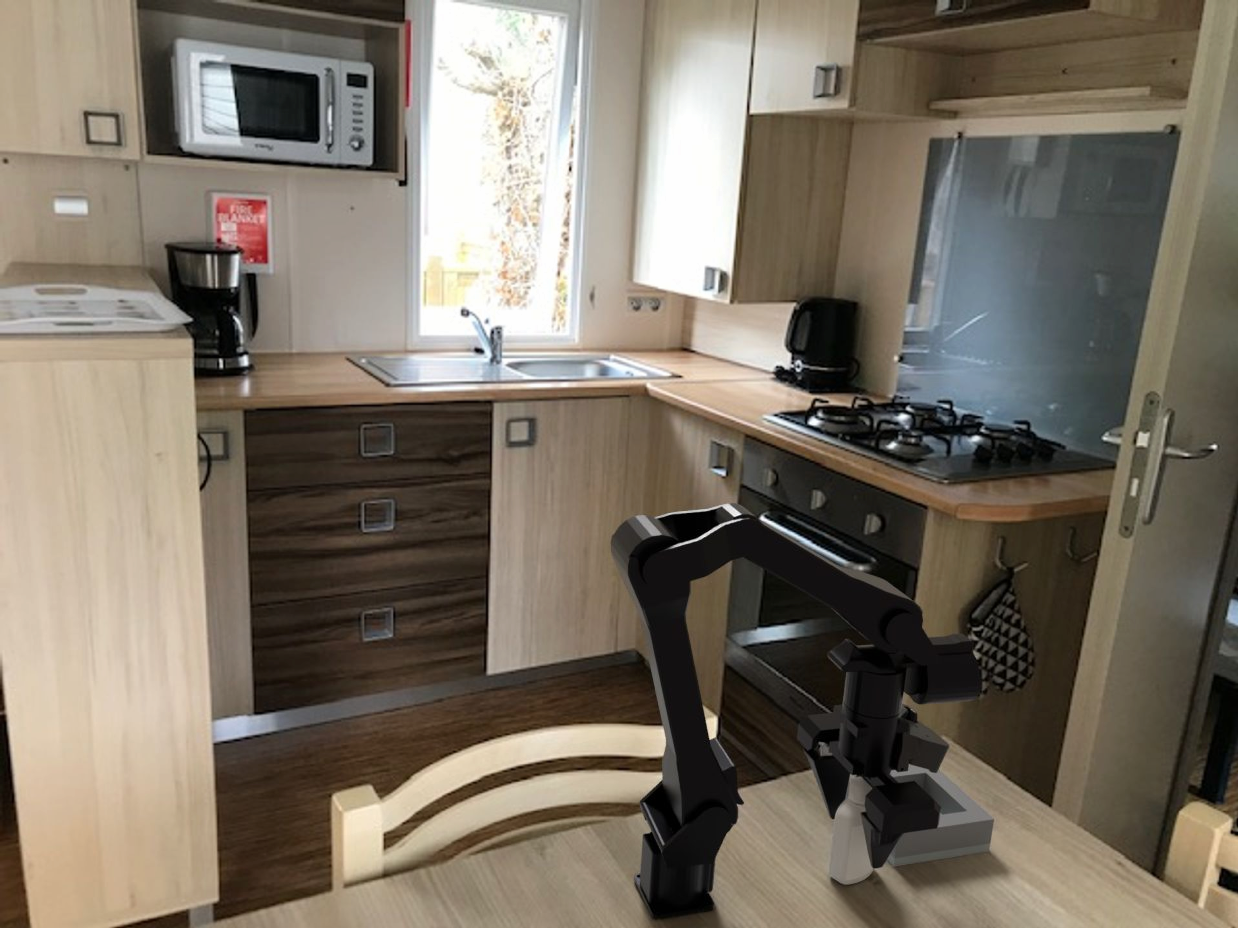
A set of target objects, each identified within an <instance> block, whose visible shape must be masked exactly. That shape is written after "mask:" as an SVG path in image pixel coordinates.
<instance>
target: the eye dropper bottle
mask: <svg viewBox="0 0 1238 928" xmlns="http://www.w3.org/2000/svg"><path fill="white" fill-rule="evenodd" d="M871 790H872V788H871V787H870V786H869V785H868V783H867V782H866V781H865V780H864V779H863V778H862V777H855V776H853V777H852V778H851V779H850V787H849V795H848V798H846V799H845V800H844V801H843V802H842V803H841V804H840V806H839V807H838V809H837V811H836V814H835V819H833V821H834V822H833V829H832V835H831V845H830V851H829V852H830V853H829V861H828V862H829V863H828V868H827V869H828V870H827V871H828V875H829V876H830V878H832V879H833V880H835V881H836V882H837V883H840V884H841V885H852V884H857V883H859V882H863V881H864V880H865V879H867V878H868V877H870V875H872V873H873V871H874V870H875V869H874V868H872V866H871V863H870V859H869V855H868V850H867V845H866V840H865V834H864V829H863V824H862V819H861V812H866V809H865V806H864V804H865V796H866V795H867V794H868V793H869V792H870V791H871Z"/></svg>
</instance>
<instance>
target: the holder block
mask: <svg viewBox="0 0 1238 928" xmlns="http://www.w3.org/2000/svg"><path fill="white" fill-rule="evenodd" d="M890 775H891V776H892V777H893V778H894V779H895V780H896V781H897V782H898V783H902V782H910V781H915V782H916V783H917V784H918V785H919V786H920V787H921V788H922V789H923V790H925V791H926V792H927V793H928V794H929V795H930V796H931V797H932V798H933V799H934V800H935V801H936V802H937V803H938V804H939V805H940V806H941V813H940V819H939V825H938V827H937V828H936V829H929V830H922V831H916V832H909V833H904V834H903V835H902V836H901V838H900V839H899V841H898V842H897V844H896V845H895V847H894V849H893V850H892V852H891V854H890V855H889V857H888V859H887V860H886V861H887V862H889V863H890V865H891V866H892V867H898V866H905V865H912V864H919V863H924V862H930V861H938V860H943V859H944V860H945V859H951V858H956V857H962V856H969V855H974V854H981V853H988V852H990V849H991V841H992V835H993V830H994V825H995V824H994V822H995V818H993V817H992V815H991V814H989V813H988V812H987V811H986V810H985V809H984V808H983V807H981V805H979V803H977V802H976V801H975V800H974V799H973V798H971V797H970V795H969V794H967V793H966V792H965V791H964V790H963V789H961V787H960V786H958V785H957V784H956V783H955V781H954V782H953V780H951V778H949V777H948V776H947V775H946V774H945V773H944V772H943V771H941V769H939V770H938V772H937V773H933V772H930V771H929V769H925V768H921V767H917V766H913V765H910V764H909V767H908V771H905V772H897V771H896V770H891V773H890ZM853 776H854V775H851V774H850V778H849V783H848V788H847V793H846V797H845V799H846V798H848V795H849V787H850V779H851V778H852V777H853Z"/></svg>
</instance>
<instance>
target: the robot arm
mask: <svg viewBox="0 0 1238 928" xmlns="http://www.w3.org/2000/svg"><path fill="white" fill-rule="evenodd" d="M610 553H611V556H612V559H613V561H614V564H615V566H616V568H617V570H618V572H619V575H620V577H621V579H622V581H623V584H624V586H625V588H626V591H627V593H628V594H629V595H628V596H630V599H631V601H632V603H633V605H634V607H635V609H636V612H637V614H638V616H639V619H640V620H639V621H640V624H641V629H642V635H643V638H644V642H645V648H646V653H647V656H648V662H649V666H650V671H651V675H652V681H653V685H654V686H653V687H654V690H655V691H654V692H655V695H656V700H657V703H658V704H657V705H658V708H659V713H660V718H661V724H662V728H663V733H664V736H665V746H664V751H663V755H662V759H661V760H662V761H661V765H662V766H661V767H662V768H661V770H662V771H661V773H662V774H661V776H662V780H660V781H659V782H658V783H657V784H656V785H655V786H654V787H653V788H652V789H651V790H649V791H648V793H646V794H645V795H644V796H643V797H642V798H641V799H640V800H639V802H638V803H639V806H640V810H641V813H642V816H643V819H644V820H645V821H646V823H647V824H648V827H649V830H650V832H647V833H643V834H642V843H641V844H642V845H641V859H640V872H636V873H634V875H633V880H634V882H635V885H636V886H637V889H638V891H639V893H640V895H641V897H642V899H643V901H644V903H645V906H646V907H647V910H648V912H649V914H650V915H651V917H652V918H653V919H655V920H656V919H657V920H658V919H664V918H665V919H666V918H671V917H677V916H678V917H679V916H682V915H684V916H685V915H688V914H695V913H702V912H707V911H712V910H715V907H716V906H715V901H714V899H713V897H712V896H711V895H710V893H711V892H713V890H714V882H715V881H714V880H715V870H716V857H717V855H718V853H719V851H720V849H721V847H722V844H723V842H724V840H725V839H726V836H727V834H728V833H729V832H730V831H731V830H732V828H733V827H734V826H735V825H736V824H737V823H738V821H739V805H741V806H743V805H744V804H745V802H744V800H743V798H742V797H741V795H740V793H739V790H738V789H739V788H738V770H737V767H736V765H735V763H734V762H733V761H732V759H731V758H730V756H729V755H728V753H727V751H726V749H725V748H724V747H723V746H722V744H721V742H720V741H719V740H718V738H717V737H716V736H715V737H713V738H711V739H710V735H709V734H710V733H709V730H708V724H707V719H706V716H705V710H704V705H703V700H702V694H701V689H700V685H699V679H698V674H697V670H696V664H695V660H694V655H693V650H692V646H691V645H692V644H691V639H690V634H689V629H688V624H687V611H688V605H689V602H690V598H691V586H692V585H691V582H693V581H696V580H699V579H700V580H701V579H703V578H705V577H709V575H712V574H713V573H714V572H716V571H717V570H720V569H721V568H722V567H724V566H725V565H727V564H728V563H730V562H731V561H734V560H737V559H741V558H744V559H745V560H747V561H749V562H751V563H752V564H754V565H756V566H758V567H759V568H761V569H763V570H765V571H767V572H768V573H770V574H771V575H773V576H775V577H777V578H778V579H780V580H782V581H783V582H785V583H787V584H789V585H791V586H793V587H794V588H795V589H798V590H799V591H801V592H803V593H805V594H806V595H808V596H810V597H812V598H814V599H816V600H817V601H818V602H820V603H822V604H823V605H825V606H826V607H827V606H828V607H829V608H830V609H831V610H833V611H834V612H835V613H836V614H837V615H838V616H840V617H841V618H842V619H843V620H844V621H845V622H847V624H849V625H850V626H851V628H853V629H854V630H856V631H857V632H858V634H860V635H861V636H863V637H864V639H866V640H867V641H869V643H870V644H865V645H864V644H862V645H856V644H855V643H854V642H853V641H852V640H850V639H849V638H845V639H844V641H842V643H840V644H839V645H836V646H835V647H833V648H832V649H831V650H829V651H828V652H827V657H828V659H829V660H830V661H831V662H833V664H834V665H835V666H836V667H837V668H838V669H840V671H842V672H843V673H846V674H845V681H844V690H843V691H844V692H843V699H842V704H835V705H833V711H832V712H828V713H826V712H825V713H818V714H809V715H808V714H807V715H806V716H804V717H803V718H802V719H801V721H799V723H798V726H797V733H796V734H797V736H796V739H797V741H798V742H799V743H800V744H801V745H802V746H803V754H804V755H805V756H806V758H807V761H808V763H809V765H810V766H809V767H810V768H811V770H812V773H813V775H814V778H815V780H816V784H817V786H818V789H819V791H820V794H821V796H822V797H821V798H822V799H823V803H824V805H825V807H826V811H827V813H828V816H829V818H830V819H831V820H834V819H835V814H836V811H837V809H838V807H839V806H840V804H841V803H842V802H843V801H844V800H845V797H846V793H847V788H848V783H849V778H850V774H851V775H854V776H855V777H862V778H863V779H864V780H865V781H866V782H867V783H868V785H869V786H870V787H871V788H872V790H871V791H870V792H869V793H868V794H867V795H866V796H865V804H864V806H865V809H866V812H861V819H862V824H863V829H864V834H865V840H866V845H867V850H868V855H869V859H870V863H871V866H872V868H874V870H875V869H880V868H883V867H884V865H885V863H886V862H887V861H888V860H887V859H888V857H889V855H890V854H891V852H892V850H893V849H894V847H895V845H896V844H897V842H898V841H899V839H900V838H901V836H902V835H903V834H904V833H909V832H916V831H922V830H929V829H936V828H937V827H938V825H939V819H940V813H941V806H940V805H939V804H938V803H937V802H936V801H935V800H934V799H933V798H932V797H931V796H930V795H929V794H928V793H927V792H926V791H925V790H923V789H922V788H921V787H920V786H919V785H918V784H917V783H916V782H915V781H910V782H902V783H898V782H897V781H896V780H895V779H894V778H893V777H892V776H891V775H890V773H891V770H896V771H897V772H905V771H908V767H909V765H913V766H917V767H921V768H925V769H929V771H930V772H933V773H937V772H938V770H940V767H941V766H942V763H943V761H944V759H945V757H946V754H947V752H948V750H949V748H950V744H949V743H948V742H947V741H946V740H945V739H943V738H942V736H940V735H939V734H938V733H937V732H936V731H934V730H933V729H931V728H930V727H928V726H927V725H925V724H924V723H923V722H921V721H919V720H918V712H917V711H915V709H913V708H912V707H910V705H908V704H904V703H903V700H904V694H906V695H908V696H909V698H910V700H912V702H914V703H915V704H917V705H922V706H923V705H932V704H933V705H935V704H936V705H937V704H948V703H961V702H972V701H974V700H976V698H978V696H979V695H980V693H981V689H982V685H983V679H982V677H981V670H980V665H979V662H978V660H977V659H978V658H976V656H975V653H974V644H975V642H974V641H973V640H972V639H970V638H969V637H968V636H966V635H965V634H964V633H952V634H947V635H945V636H930V637H929V636H928V634H927V633H926V631H925V629H924V628H923V625H924V624H923V623H924V617H923V614H924V611H923V609H922V608H921V606H920V605H919V604H918V603H916V602H915V600H912V599H911V598H910V597H909V596H907V595H906V594H904V593H903V592H902V591H901V590H899V588H896V587H894V585H893V584H891V583H889V581H887V580H885V579H883V578H881V577H878V576H875V575H872V574H870V573H867V572H864V571H860V570H858V569H854V568H852V569H851V568H847V567H843V566H840V565H838V564H835V563H834V562H832V561H831V560H829V559H827V558H826V557H824V556H822V555H821V554H818V553H817V552H815V551H813V550H812V549H810V548H809V547H807V546H806V545H804V544H802V543H800V542H799V541H797V540H796V539H793V538H792V537H791V536H788V534H785V533H784V532H782V531H780V530H779V529H778V528H775V527H773V526H772V525H770V524H768V523H767V522H765V521H763V520H762V519H760V518H758V517H757V516H756V515H754V514H753V513H752V512H750V510H748V509H747V508H745V507H744V506H743V505H741V504H739V503H736V502H731V503H729V502H728V503H722V504H720V505H717V506H713V507H709V508H704V509H693V510H682V511H672V512H669V513H664V514H661V515H658V516H651V515H646V514H642V515H641V514H640V515H635V516H633V517H630V518H628V519H625V520H624V522H623V521H622V523H621V524H620V525H619V526H618V527H617V528H616V530H615V532H614V533H613V534H612V536H611V539H610Z"/></svg>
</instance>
